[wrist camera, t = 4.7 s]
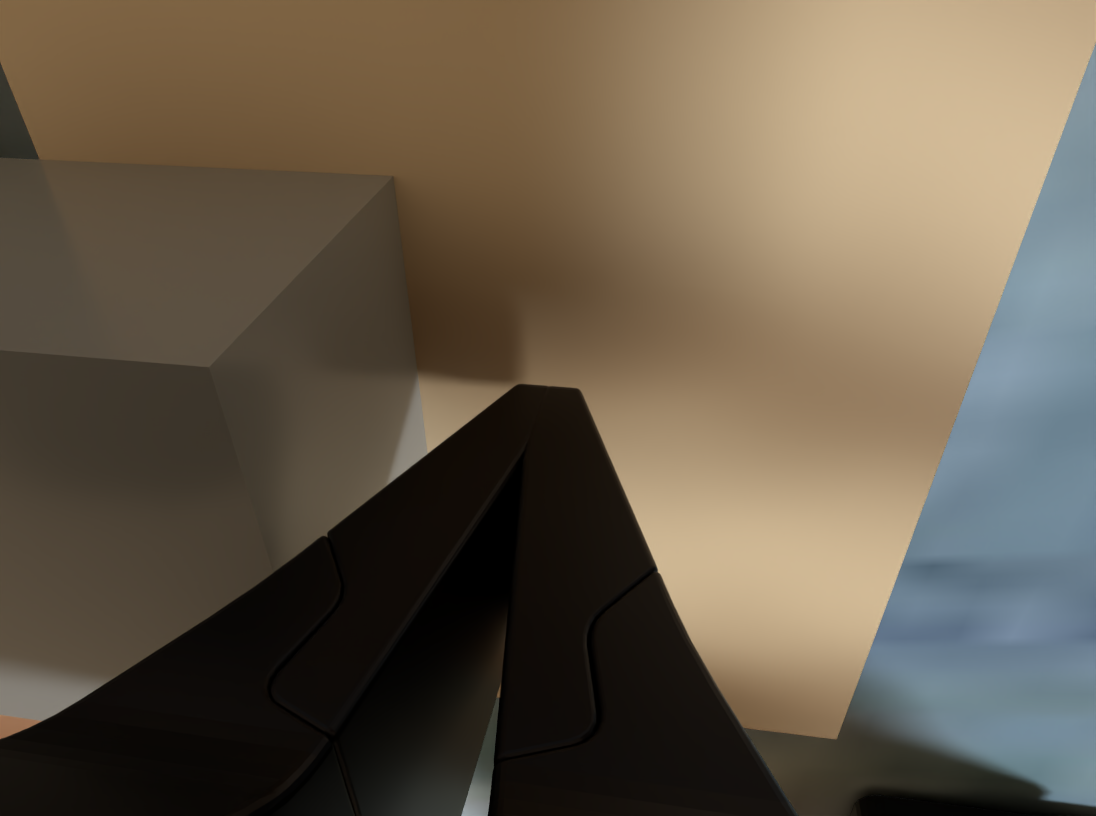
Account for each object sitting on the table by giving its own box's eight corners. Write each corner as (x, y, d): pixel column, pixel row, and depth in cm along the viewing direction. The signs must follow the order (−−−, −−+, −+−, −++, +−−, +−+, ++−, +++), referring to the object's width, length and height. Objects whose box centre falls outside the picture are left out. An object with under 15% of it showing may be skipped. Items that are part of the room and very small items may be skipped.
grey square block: (434, 508, 11) (334, 763, 8) (127, 477, 12) (-83, 702, 9) (393, 175, 8) (209, 368, 5) (-12, 157, 9) (-407, 318, 6)
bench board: (819, 644, 15) (836, 739, 13) (288, 586, 16) (244, 666, 14) (1131, -369, 7) (1277, -448, 5) (5, -306, 8) (-168, -352, 6)
